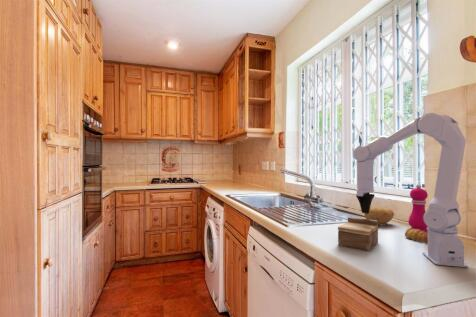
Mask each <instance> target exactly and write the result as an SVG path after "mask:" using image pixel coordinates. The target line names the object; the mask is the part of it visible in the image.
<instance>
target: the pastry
mask: <svg viewBox="0 0 476 317" xmlns="http://www.w3.org/2000/svg"><path fill="white" fill-rule="evenodd" d="M404 237H406V238H407V239H411V240H412V241H416V242H420V243H425V244H426V243H427V244H428V233H426V232H424V231H422V230H419V229H414V228H411V227H409V228H407V229H406V230H405V233H404Z"/></svg>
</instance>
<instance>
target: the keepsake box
mask: <svg viewBox="0 0 476 317" xmlns="http://www.w3.org/2000/svg"><path fill="white" fill-rule="evenodd" d="M337 238H338V239H337V246H339V247H344V248H349V249H353V250H358V251H363V252H368V253H369V252H371V250H373V248H375V246H376V245H378V244H379V228H378V229H376V230H375V231H374V232H373V233H371V234H370V235H369V236H367V235H361V234H356V233H350V232H344V231H338V230H337Z"/></svg>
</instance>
